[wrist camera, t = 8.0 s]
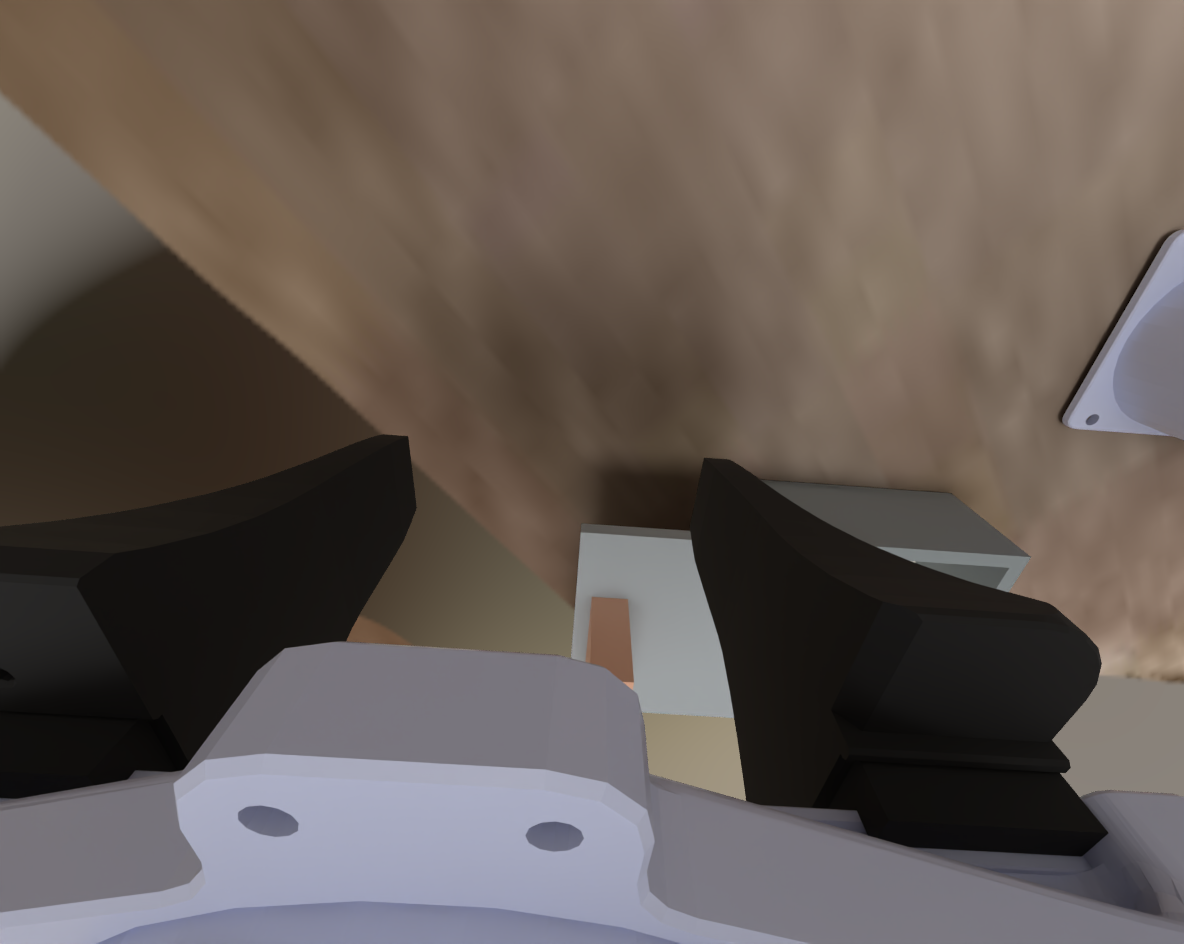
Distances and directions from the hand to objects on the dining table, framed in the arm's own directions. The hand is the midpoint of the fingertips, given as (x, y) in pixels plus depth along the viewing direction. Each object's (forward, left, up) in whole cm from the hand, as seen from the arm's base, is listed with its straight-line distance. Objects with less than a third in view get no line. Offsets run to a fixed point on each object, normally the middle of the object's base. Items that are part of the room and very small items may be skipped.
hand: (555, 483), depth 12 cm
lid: (-6, +10, -5) cm, 13 cm away
